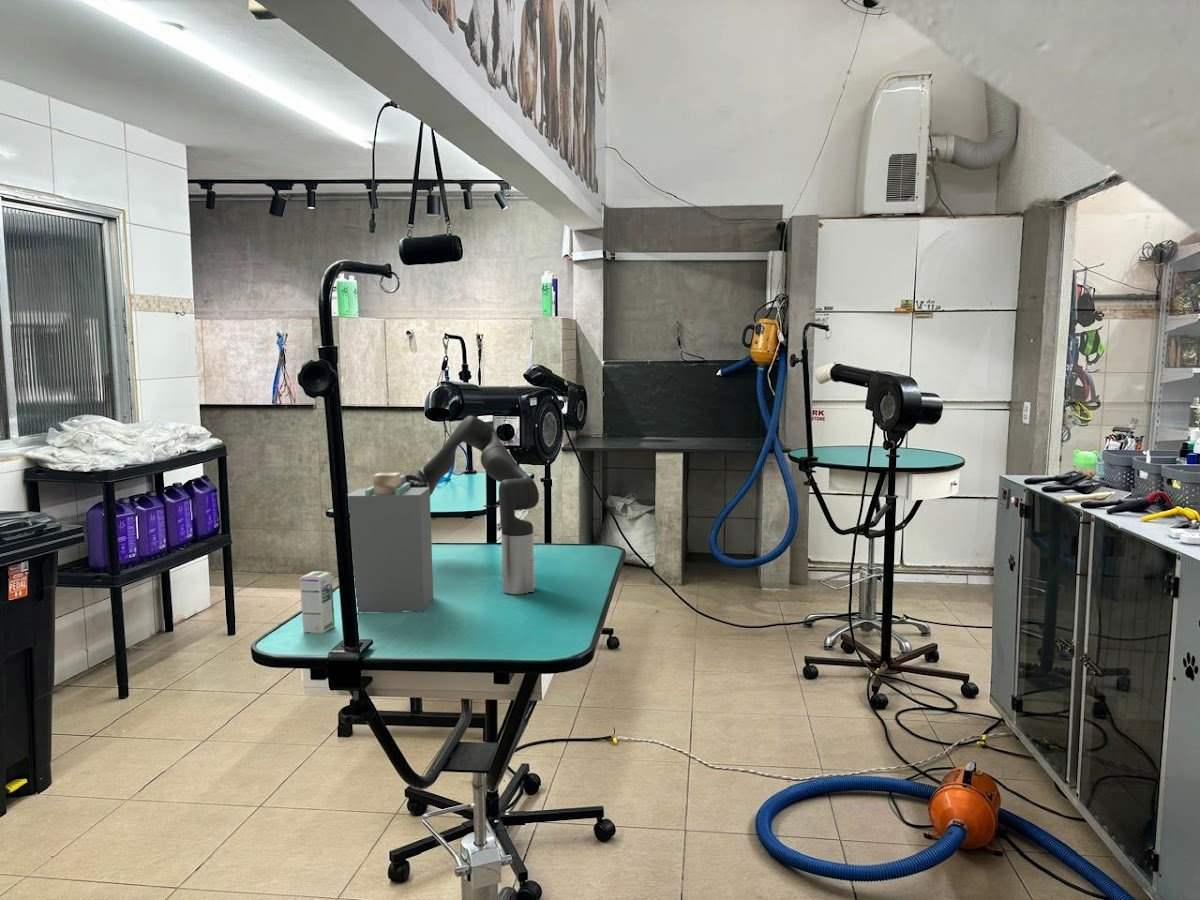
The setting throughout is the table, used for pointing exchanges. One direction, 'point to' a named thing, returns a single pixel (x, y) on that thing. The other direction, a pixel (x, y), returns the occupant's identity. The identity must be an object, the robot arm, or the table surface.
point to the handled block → (387, 482)
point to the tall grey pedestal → (392, 549)
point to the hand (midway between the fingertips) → (401, 487)
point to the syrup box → (317, 602)
